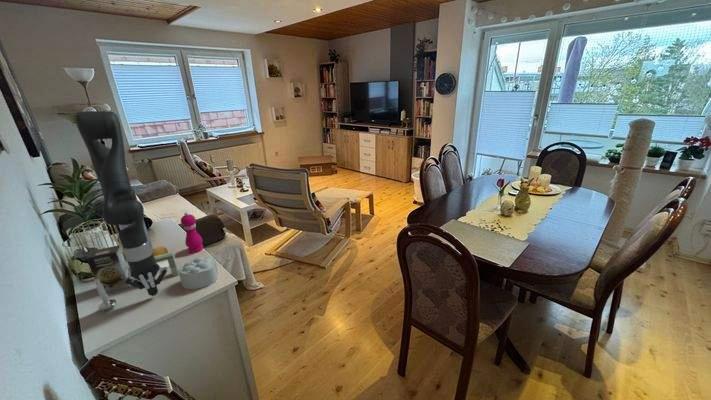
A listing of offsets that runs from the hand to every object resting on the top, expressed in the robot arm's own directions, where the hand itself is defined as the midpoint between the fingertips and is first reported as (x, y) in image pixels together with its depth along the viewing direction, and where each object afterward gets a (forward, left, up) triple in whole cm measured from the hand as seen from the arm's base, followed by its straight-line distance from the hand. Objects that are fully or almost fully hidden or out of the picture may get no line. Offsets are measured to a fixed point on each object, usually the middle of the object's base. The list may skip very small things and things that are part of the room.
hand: (154, 294), depth 106 cm
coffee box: (-17, -14, -2) cm, 22 cm away
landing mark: (-27, 0, -2) cm, 27 cm away
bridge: (-13, 0, -2) cm, 13 cm away
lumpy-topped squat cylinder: (-2, +15, -2) cm, 16 cm away
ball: (-31, +1, +2) cm, 31 cm away
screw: (-2, -14, -2) cm, 14 cm away
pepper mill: (-31, +15, -2) cm, 34 cm away
